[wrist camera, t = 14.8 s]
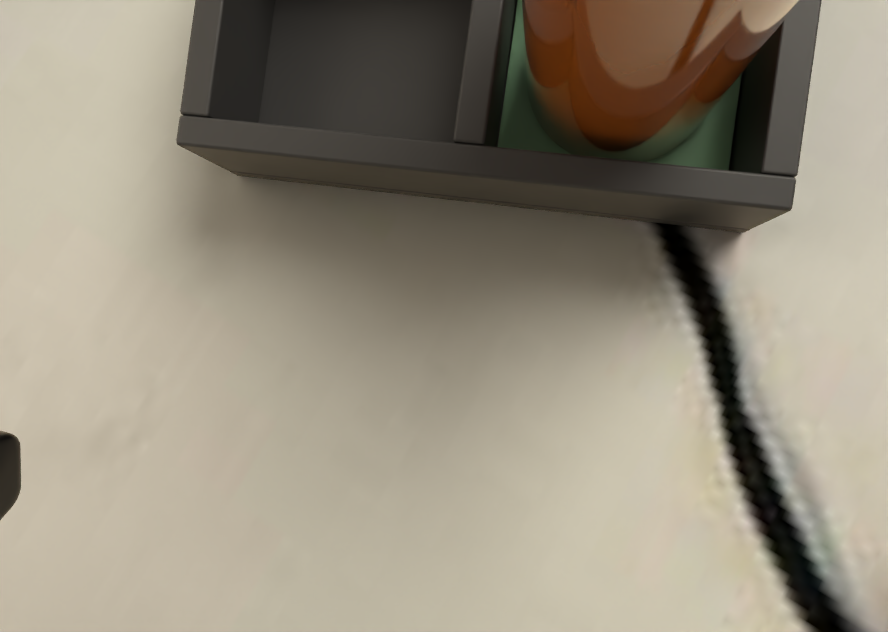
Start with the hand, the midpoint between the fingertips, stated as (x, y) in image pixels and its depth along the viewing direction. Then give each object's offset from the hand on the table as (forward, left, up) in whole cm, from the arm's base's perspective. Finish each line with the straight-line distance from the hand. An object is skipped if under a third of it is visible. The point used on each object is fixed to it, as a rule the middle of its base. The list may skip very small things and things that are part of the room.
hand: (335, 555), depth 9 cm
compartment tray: (+4, -10, -11) cm, 16 cm away
